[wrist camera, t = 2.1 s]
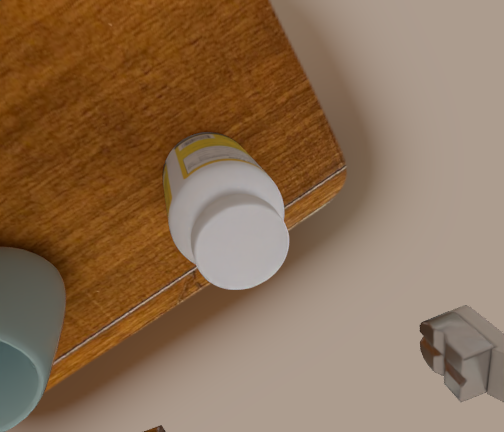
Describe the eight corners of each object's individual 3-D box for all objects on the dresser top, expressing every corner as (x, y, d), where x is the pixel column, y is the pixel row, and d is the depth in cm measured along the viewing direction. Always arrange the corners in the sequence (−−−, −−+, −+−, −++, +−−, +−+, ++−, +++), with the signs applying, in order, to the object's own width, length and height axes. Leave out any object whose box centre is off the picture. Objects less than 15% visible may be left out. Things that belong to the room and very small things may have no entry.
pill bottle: (198, 228, 30) (226, 327, 20) (142, 166, 27) (141, 246, 16) (264, 179, 29) (329, 254, 19) (216, 110, 26) (262, 156, 16)
